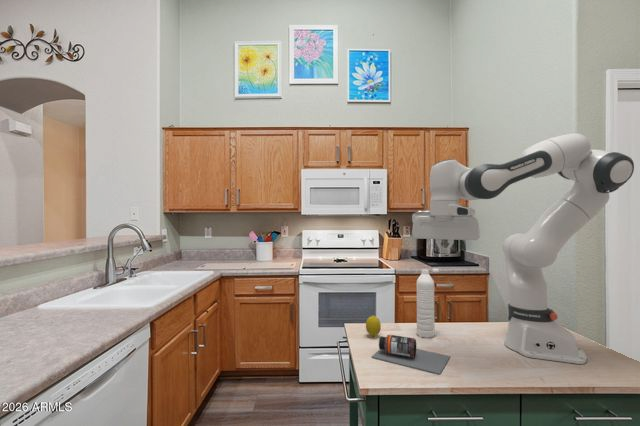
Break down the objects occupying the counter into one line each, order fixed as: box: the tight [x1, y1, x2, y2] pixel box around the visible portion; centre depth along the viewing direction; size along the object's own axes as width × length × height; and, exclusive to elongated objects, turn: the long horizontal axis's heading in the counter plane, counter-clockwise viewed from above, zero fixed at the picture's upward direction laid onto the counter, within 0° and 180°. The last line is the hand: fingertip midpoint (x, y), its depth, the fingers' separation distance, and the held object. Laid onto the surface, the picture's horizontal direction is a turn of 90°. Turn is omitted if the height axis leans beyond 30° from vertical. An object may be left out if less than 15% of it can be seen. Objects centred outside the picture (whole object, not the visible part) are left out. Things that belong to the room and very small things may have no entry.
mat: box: [371, 348, 451, 376], centre depth 103 cm, size 21×14×1 cm, turn 57°
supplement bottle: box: [378, 334, 417, 358], centre depth 104 cm, size 6×6×11 cm
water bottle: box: [416, 268, 440, 339], centre depth 123 cm, size 9×6×25 cm
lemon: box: [365, 314, 382, 338], centre depth 121 cm, size 6×6×8 cm
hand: (444, 253), depth 103 cm, fingers closed
